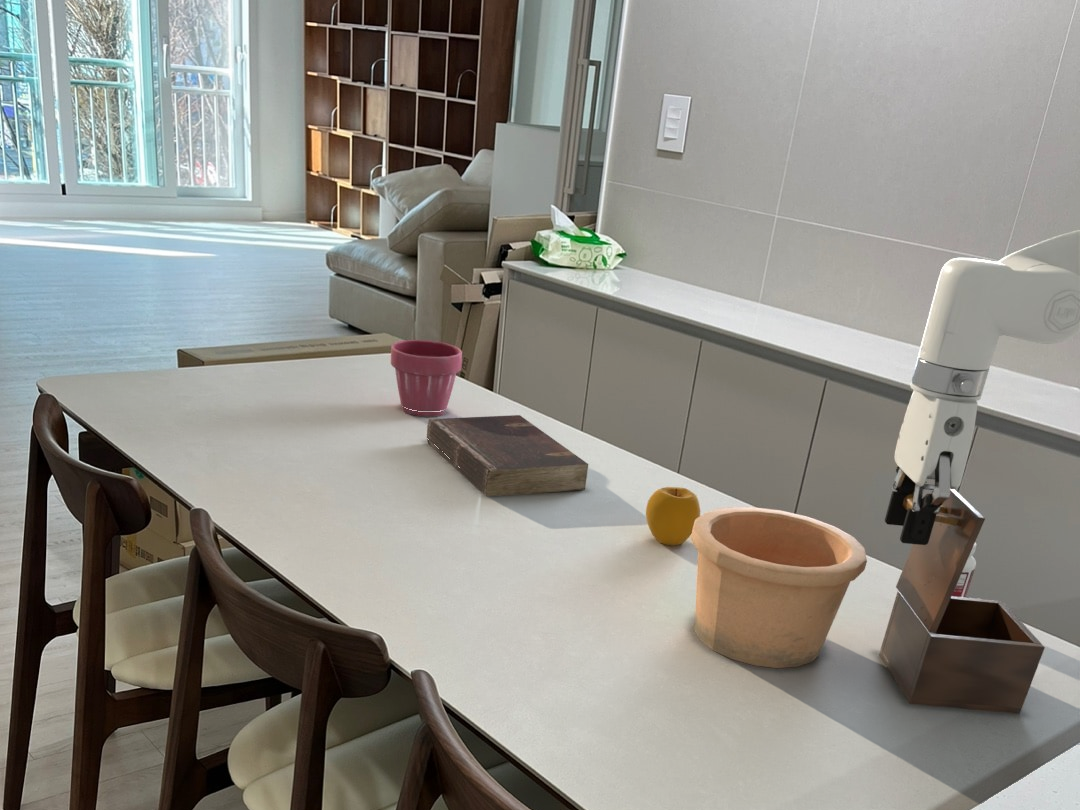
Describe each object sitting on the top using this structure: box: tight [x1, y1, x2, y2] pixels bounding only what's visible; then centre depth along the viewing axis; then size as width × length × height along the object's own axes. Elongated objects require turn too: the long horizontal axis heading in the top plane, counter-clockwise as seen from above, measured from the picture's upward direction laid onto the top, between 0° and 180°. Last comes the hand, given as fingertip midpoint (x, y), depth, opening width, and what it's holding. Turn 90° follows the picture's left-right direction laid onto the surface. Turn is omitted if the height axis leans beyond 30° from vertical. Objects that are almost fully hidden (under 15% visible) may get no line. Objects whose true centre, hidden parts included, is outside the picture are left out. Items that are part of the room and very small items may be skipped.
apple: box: [645, 486, 701, 547], centre depth 166 cm, size 8×8×9 cm
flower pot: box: [390, 339, 463, 418], centre depth 215 cm, size 14×14×13 cm
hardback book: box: [426, 414, 589, 497], centre depth 190 cm, size 29×19×5 cm, turn 25°
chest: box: [878, 590, 1046, 715], centre depth 132 cm, size 14×13×9 cm
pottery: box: [690, 506, 868, 669], centre depth 137 cm, size 22×22×14 cm
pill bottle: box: [952, 541, 978, 598], centre depth 152 cm, size 6×6×11 cm
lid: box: [895, 489, 986, 633], centre depth 126 cm, size 15×13×6 cm
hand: (905, 532), depth 124 cm, fingers closed on lid, 5 cm apart
